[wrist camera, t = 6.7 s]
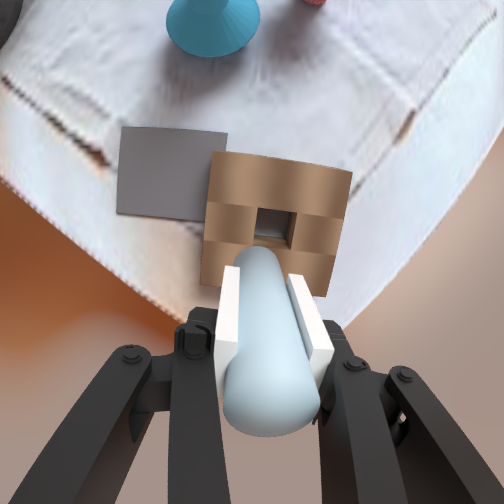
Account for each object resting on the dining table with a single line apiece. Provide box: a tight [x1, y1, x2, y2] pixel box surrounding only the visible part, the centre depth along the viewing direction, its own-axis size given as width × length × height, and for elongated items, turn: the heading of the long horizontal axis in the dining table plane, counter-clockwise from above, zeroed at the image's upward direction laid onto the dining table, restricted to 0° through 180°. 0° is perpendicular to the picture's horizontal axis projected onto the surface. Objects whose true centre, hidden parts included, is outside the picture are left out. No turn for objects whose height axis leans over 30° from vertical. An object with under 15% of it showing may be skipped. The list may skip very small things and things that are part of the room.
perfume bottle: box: [166, 0, 260, 57], centre depth 20 cm, size 9×9×15 cm
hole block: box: [200, 150, 353, 297], centre depth 33 cm, size 14×14×4 cm
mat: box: [116, 127, 228, 222], centre depth 32 cm, size 12×10×1 cm
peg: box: [223, 246, 320, 437], centre depth 14 cm, size 3×3×12 cm
